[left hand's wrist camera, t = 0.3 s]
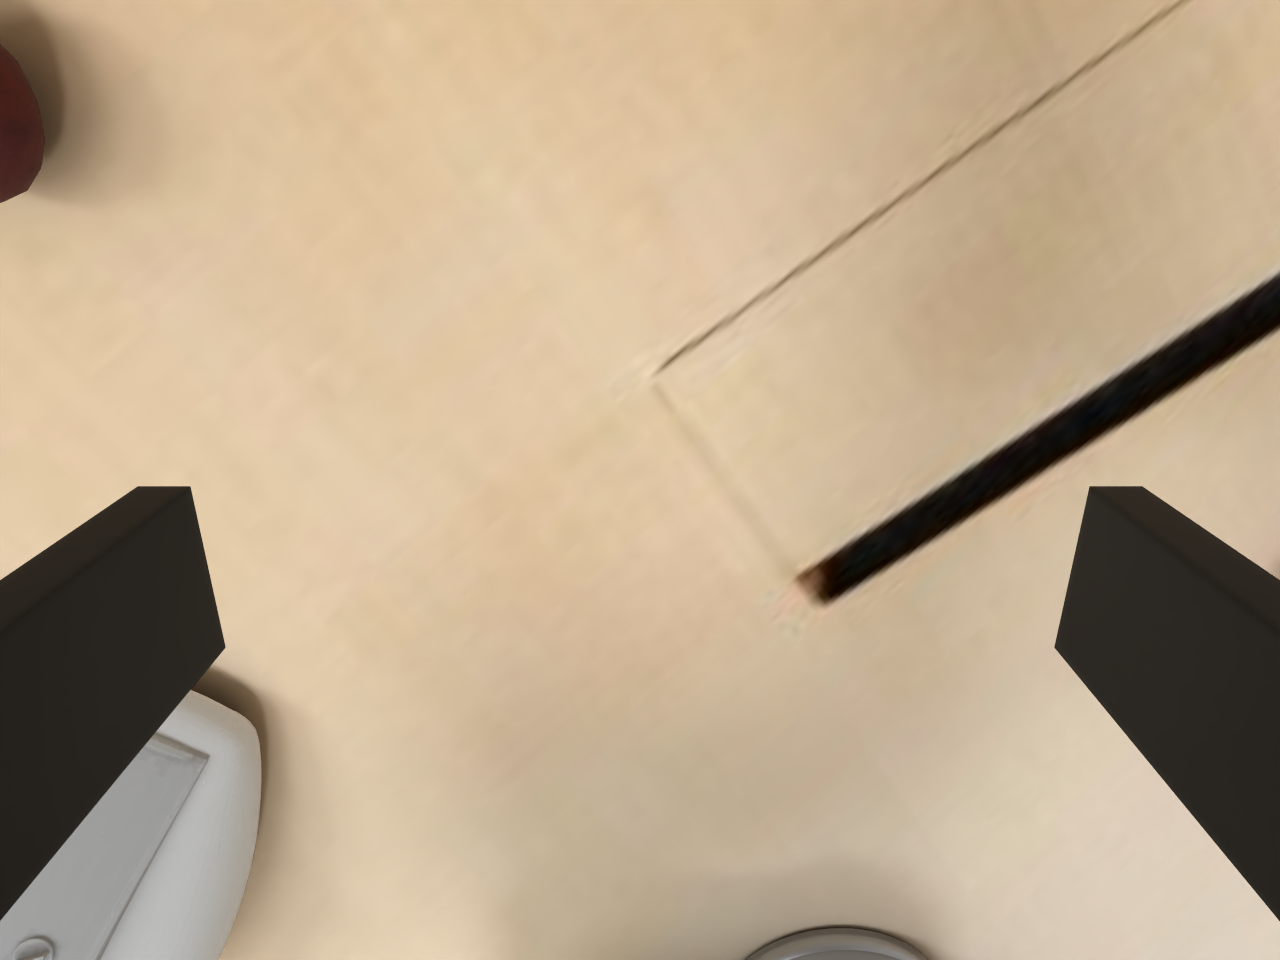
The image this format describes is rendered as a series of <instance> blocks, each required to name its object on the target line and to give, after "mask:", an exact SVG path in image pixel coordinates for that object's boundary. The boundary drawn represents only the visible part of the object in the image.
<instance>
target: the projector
mask: <svg viewBox="0 0 1280 960" xmlns="http://www.w3.org/2000/svg"><path fill="white" fill-rule="evenodd" d="M260 800H261V754H260V743H259V738H258V735H257V732H256V729H255V728H254V726H253V725H252V723H251V722H250V721H249V720H248V719H246V718H245V717H244V716H242V715H241V714H240V713H238V712H236V711H233V710H231V709H229V708H227V707H226V706H224V705H222V704H220V703H218V702H216V701H214V700H212V699H210V698H208V697H206V696H204V695H201V694H199V693H197V692H195V691H192V690H190V691H189V692H188V694H187V695H186V696H185V697H184V698H183V700H182V701H181V702H180V703H179V705H178V706H177V707H176V708H175V709H174V711H173V712H172V713H171V714H170V715H169V717H168V718H167V719H166V720H165V722H164V723H163V724H162V725H161V726H160V728H159V729H158V730H157V731H156V732H155V734H154V735H153V736H152V737H151V739H150V740H149V741H148V742H147V743H146V745H145V746H144V747H143V748H142V750H141V751H140V752H139V753H138V754H137V756H136V757H135V758H134V759H133V760H132V762H131V763H130V764H129V765H128V767H127V768H126V769H125V770H124V771H123V773H122V774H121V775H120V776H119V777H118V779H117V780H116V781H115V782H114V784H113V785H112V786H111V787H110V788H109V790H108V791H107V792H106V793H105V794H104V796H103V797H102V798H101V799H100V801H99V802H98V803H97V804H96V805H95V807H94V808H93V809H92V810H91V811H90V813H89V814H88V815H87V816H86V818H85V819H84V820H83V821H82V822H81V824H80V825H79V826H78V827H77V828H76V830H75V831H74V832H73V833H72V835H71V836H70V837H69V838H68V839H67V841H66V842H65V843H64V844H63V845H62V847H61V848H60V849H59V850H58V852H57V853H56V854H55V855H54V856H53V858H52V859H51V860H50V861H49V862H48V864H47V865H46V866H45V867H44V869H43V870H42V871H41V872H40V873H39V875H38V876H37V877H36V878H35V879H34V881H33V882H32V883H31V884H30V886H29V887H28V888H27V889H26V890H25V892H24V893H23V894H22V895H21V896H20V898H19V899H18V900H17V901H16V903H15V904H14V905H13V906H12V907H11V909H10V910H9V911H8V912H7V913H6V915H5V916H4V917H3V918H2V920H1V921H0V960H218V959H219V956H220V954H221V952H222V950H223V948H224V946H225V943H226V941H227V938H228V936H229V933H230V931H231V929H232V926H233V924H234V921H235V918H236V915H237V913H238V910H239V907H240V904H241V901H242V898H243V895H244V892H245V888H246V884H247V880H248V877H249V873H250V869H251V865H252V860H253V855H254V850H255V845H256V838H257V831H258V823H259V812H260Z"/></svg>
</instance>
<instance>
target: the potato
mask: <svg viewBox="0 0 1280 960" xmlns="http://www.w3.org/2000/svg"><path fill="white" fill-rule="evenodd" d="M44 143H45V138H44V133H43V128H42V123H41V118H40V113H39V108H38V104H37V100H36V97H35V95H34V93H33V92H32V90H31V88H30V86H29V84H28V82H27V80H26V78H25V76H24V74H23V72H22V70H21V68H20V66H19V64H18V62H17V60H16V59H15V58H14V57H13V56H12V55H11V54H10V53H9V52H8V51H7V50H6V49H5V48H4V47H3V46H1V45H0V203H1V202H4V201H6V200H8V199H10V198H13V197H15V196H17V195H19V194H21V193H23V192H25V191H27V190H28V189H29V187H30V185H31V184H32V182H33V181H34V179H35V177H36V176H37V174H38V172H39V171H40V169H41V165H42V159H43V151H44Z"/></svg>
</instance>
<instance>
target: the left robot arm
mask: <svg viewBox="0 0 1280 960" xmlns="http://www.w3.org/2000/svg"><path fill="white" fill-rule="evenodd" d="M224 649H225V643H224V638H223V634H222V629H221V625H220V620H219V615H218V611H217V606H216V602H215V597H214V593H213V588H212V583H211V579H210V574H209V570H208V565H207V560H206V556H205V551H204V547H203V542H202V538H201V533H200V528H199V524H198V519H197V515H196V510H195V506H194V501H193V496H192V492H191V487H190V486H138V487H136V488H135V489H133V490H132V491H130V492H129V493H128V494H126V495H125V496H123V497H122V498H120V499H119V500H117V501H116V502H114V503H113V504H111V505H110V506H109V507H107V508H106V509H104V510H103V511H101V512H100V513H98V514H97V515H95V516H94V517H92V518H91V519H89V520H88V521H87V522H85V523H84V524H82V525H81V526H79V527H78V528H76V529H75V530H73V531H72V532H70V533H69V534H67V535H66V536H65V537H63V538H62V539H60V540H59V541H57V542H56V543H54V544H53V545H51V546H50V547H48V548H47V549H45V550H44V551H43V552H41V553H40V554H38V555H37V556H35V557H34V558H32V559H31V560H29V561H28V562H26V563H25V564H23V565H22V566H21V567H19V568H18V569H16V570H15V571H13V572H12V573H10V574H9V575H7V576H6V577H4V578H3V579H1V580H0V921H1V920H2V918H3V917H4V916H5V915H6V913H7V912H8V911H9V910H10V909H11V907H12V906H13V905H14V904H15V903H16V901H17V900H18V899H19V898H20V896H21V895H22V894H23V893H24V892H25V890H26V889H27V888H28V887H29V886H30V884H31V883H32V882H33V881H34V879H35V878H36V877H37V876H38V875H39V873H40V872H41V871H42V870H43V869H44V867H45V866H46V865H47V864H48V862H49V861H50V860H51V859H52V858H53V856H54V855H55V854H56V853H57V852H58V850H59V849H60V848H61V847H62V845H63V844H64V843H65V842H66V841H67V839H68V838H69V837H70V836H71V835H72V833H73V832H74V831H75V830H76V828H77V827H78V826H79V825H80V824H81V822H82V821H83V820H84V819H85V818H86V816H87V815H88V814H89V813H90V811H91V810H92V809H93V808H94V807H95V805H96V804H97V803H98V802H99V801H100V799H101V798H102V797H103V796H104V794H105V793H106V792H107V791H108V790H109V788H110V787H111V786H112V785H113V784H114V782H115V781H116V780H117V779H118V777H119V776H120V775H121V774H122V773H123V771H124V770H125V769H126V768H127V767H128V765H129V764H130V763H131V762H132V760H133V759H134V758H135V757H136V756H137V754H138V753H139V752H140V751H141V750H142V748H143V747H144V746H145V745H146V743H147V742H148V741H149V740H150V739H151V737H152V736H153V735H154V734H155V732H156V731H157V730H158V729H159V728H160V726H161V725H162V724H163V723H164V722H165V720H166V719H167V718H168V717H169V715H170V714H171V713H172V712H173V711H174V709H175V708H176V707H177V706H178V705H179V703H180V702H181V701H182V700H183V698H184V697H185V696H186V695H187V694H188V692H189V691H190V690H191V689H192V688H193V686H194V685H195V684H196V683H197V681H198V680H199V679H200V678H201V677H202V675H203V674H204V673H205V672H206V671H207V669H208V668H209V667H210V666H211V664H212V663H213V662H214V661H215V660H216V658H217V657H218V656H219V655H220V654H221V652H222V651H223V650H224ZM1055 649H1056V650H1057V651H1058V652H1059V654H1060V655H1061V656H1062V657H1063V658H1064V660H1065V661H1066V662H1067V663H1068V664H1069V666H1070V667H1071V668H1072V669H1073V671H1074V672H1075V673H1076V674H1077V675H1078V677H1079V678H1080V679H1081V680H1082V681H1083V683H1084V684H1085V685H1086V686H1087V688H1088V689H1089V690H1090V691H1091V692H1092V694H1093V695H1094V696H1095V697H1096V698H1097V700H1098V701H1099V702H1100V703H1101V705H1102V706H1103V707H1104V708H1105V709H1106V711H1107V712H1108V713H1109V714H1110V715H1111V717H1112V718H1113V719H1114V720H1115V722H1116V723H1117V724H1118V725H1119V726H1120V728H1121V729H1122V730H1123V731H1124V732H1125V734H1126V735H1127V736H1128V737H1129V739H1130V740H1131V741H1132V742H1133V743H1134V745H1135V746H1136V747H1137V748H1138V750H1139V751H1140V752H1141V753H1142V754H1143V756H1144V757H1145V758H1146V759H1147V760H1148V762H1149V763H1150V764H1151V765H1152V767H1153V768H1154V769H1155V770H1156V771H1157V773H1158V774H1159V775H1160V776H1161V777H1162V779H1163V780H1164V781H1165V782H1166V784H1167V785H1168V786H1169V787H1170V788H1171V790H1172V791H1173V792H1174V793H1175V794H1176V796H1177V797H1178V798H1179V799H1180V801H1181V802H1182V803H1183V804H1184V805H1185V807H1186V808H1187V809H1188V810H1189V811H1190V813H1191V814H1192V815H1193V816H1194V818H1195V819H1196V820H1197V821H1198V822H1199V824H1200V825H1201V826H1202V827H1203V828H1204V830H1205V831H1206V832H1207V833H1208V835H1209V836H1210V837H1211V838H1212V839H1213V841H1214V842H1215V843H1216V844H1217V845H1218V847H1219V848H1220V849H1221V850H1222V852H1223V853H1224V854H1225V855H1226V856H1227V858H1228V859H1229V860H1230V861H1231V862H1232V864H1233V865H1234V866H1235V867H1236V869H1237V870H1238V871H1239V872H1240V873H1241V875H1242V876H1243V877H1244V878H1245V879H1246V881H1247V882H1248V883H1249V884H1250V886H1251V887H1252V888H1253V889H1254V890H1255V892H1256V893H1257V894H1258V895H1259V896H1260V898H1261V899H1262V900H1263V901H1264V903H1265V904H1266V905H1267V906H1268V907H1269V909H1270V910H1271V911H1272V912H1273V913H1274V915H1275V916H1276V917H1277V918H1278V920H1279V921H1280V580H1279V579H1277V578H1276V577H1274V576H1273V575H1271V574H1270V573H1268V572H1267V571H1265V570H1264V569H1262V568H1261V567H1259V566H1258V565H1257V564H1255V563H1254V562H1252V561H1251V560H1249V559H1248V558H1246V557H1245V556H1243V555H1242V554H1240V553H1239V552H1237V551H1236V550H1235V549H1233V548H1232V547H1230V546H1229V545H1227V544H1226V543H1224V542H1223V541H1221V540H1220V539H1218V538H1217V537H1215V536H1214V535H1213V534H1211V533H1210V532H1208V531H1207V530H1205V529H1204V528H1202V527H1201V526H1199V525H1198V524H1196V523H1195V522H1193V521H1192V520H1191V519H1189V518H1188V517H1186V516H1185V515H1183V514H1182V513H1180V512H1179V511H1177V510H1176V509H1174V508H1173V507H1172V506H1170V505H1169V504H1167V503H1166V502H1164V501H1163V500H1161V499H1160V498H1158V497H1157V496H1155V495H1154V494H1152V493H1151V492H1150V491H1148V490H1147V489H1145V488H1144V487H1142V486H1090V487H1089V492H1088V496H1087V501H1086V506H1085V510H1084V515H1083V519H1082V524H1081V528H1080V533H1079V538H1078V542H1077V547H1076V551H1075V556H1074V560H1073V565H1072V570H1071V574H1070V579H1069V583H1068V588H1067V593H1066V597H1065V602H1064V606H1063V611H1062V615H1061V620H1060V625H1059V629H1058V634H1057V638H1056V643H1055ZM746 960H928V959H927V958H926V957H924V956H923V955H922V954H921V953H920V952H919V951H917V950H916V949H914V948H913V947H911V946H910V945H908V944H906V943H905V942H902V941H900V940H898V939H896V938H893V937H891V936H888V935H885V934H881V933H878V932H874V931H868V930H862V929H853V928H828V929H819V930H813V931H807V932H803V933H799V934H795V935H792V936H789V937H786V938H783V939H780V940H778V941H776V942H773V943H771V944H769V945H767V946H765V947H763V948H762V949H760V950H759V951H757V952H755V953H754V954H752V955H751V956H750V957H748V958H747V959H746Z"/></svg>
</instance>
